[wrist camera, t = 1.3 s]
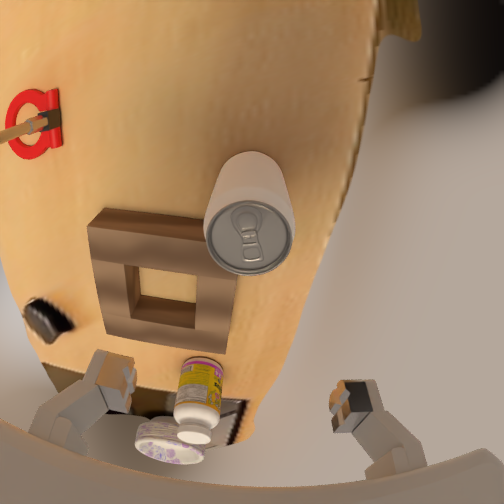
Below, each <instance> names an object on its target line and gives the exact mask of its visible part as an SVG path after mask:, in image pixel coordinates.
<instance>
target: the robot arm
mask: <svg viewBox="0 0 504 504" xmlns="http://www.w3.org/2000/svg"><path fill="white" fill-rule="evenodd" d="M134 364H135V362H134V358H132V357H128V356H123V355H119V354H115V353H111V352H108V351H104V350H99V349H97V350H96V351H95V353H94V355H93V357H92V360H91V362H90V364H89V366H88V369H87V371H86V373H85V376H84V378H83V380H78V381H77V382H75V383H74V384H72V385H71V386H69V387H68V388H66V389H65V390H63V391H62V392H60V393H59V394H57V395H56V396H54V397H53V398H51V399H50V400H48V401H47V402H45V403H44V404H42V405H41V406H40V407H39V408H38V410H37V412H36V415H35V417H34V419H33V422H32V424H31V427H30V429H29V432H25V431H24V430H22V429H20V428H18V427H16V426H14V425H12V424H10V423H8V422H6V421H4V420H2V419H1V418H0V504H504V465H503V463H502V462H501V461H500V460H499V459H498V458H497V457H496V456H495V455H493V454H492V453H491V452H490V451H488V450H487V449H484V448H481V449H478V450H475V451H472V452H470V453H467V454H464V455H462V456H459V457H456V458H453V459H450V460H447V461H444V462H440V463H437V464H434V465H430V466H427V462H426V459H425V455H424V452H423V448H422V445H421V442H420V441H419V440H418V439H417V438H416V437H415V436H414V435H413V434H411V433H410V432H409V431H408V430H407V429H406V428H405V427H404V426H403V425H402V424H401V423H400V422H399V421H398V420H397V419H396V418H395V417H394V416H393V415H391V414H390V413H389V412H388V411H385V410H384V407H383V404H382V400H381V397H380V394H379V391H378V388H377V384H376V381H375V380H373V379H372V380H371V379H369V380H362V379H358V380H340V381H339V382H338V383H337V389H335V390H333V391H332V393H331V395H330V399H329V409H330V412H331V413H332V414H333V415H334V416H333V418H332V420H331V421H332V426H333V433H349V432H352V435H353V436H354V437H355V438H356V440H357V441H358V442H359V444H360V445H361V446H362V447H363V449H364V450H365V451H366V452H367V454H368V455H369V456H370V458H371V459H372V460H373V461H374V464H372V465H371V466H370V467H368V468H367V469H366V470H365V475H366V480H361V481H355V482H348V483H339V484H329V485H318V486H301V487H247V486H231V485H219V484H209V483H201V482H193V481H185V480H180V479H173V478H168V477H162V476H158V475H152V474H148V473H144V472H139V471H134V470H131V469H127V468H123V467H119V466H116V465H112V464H109V463H105V462H102V461H99V460H96V459H93V458H89V457H87V453H88V449H89V446H88V444H87V443H86V442H85V440H84V439H83V438H82V436H81V434H82V433H83V432H85V431H86V430H87V429H88V428H89V427H90V426H91V425H93V424H94V423H95V422H96V421H97V420H98V419H99V418H100V417H101V416H103V415H104V414H105V413H106V412H107V411H108V409H111V410H115V411H119V412H123V413H128V411H129V408H130V404H131V401H132V399H131V396H130V394H131V393H132V392H134V391H135V387H136V382H137V372H136V369H135V368H134Z"/></svg>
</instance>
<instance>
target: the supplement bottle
mask: <svg viewBox="0 0 504 504" xmlns="http://www.w3.org/2000/svg"><path fill="white" fill-rule="evenodd" d="M222 382H223V370H222V368H221V366H220V365H219V364H218V363H217V362H215V361H213V360H211V359H207V358H191V359H189V360H187V361H186V362H185V363H184V364H183V366H182V370H181V375H180V380H179V386H178V391H177V397H176V402H175V407H174V418H175V420H176V421H177V422H178V423H179V424H180V425H179V427H178V431H177V437H178V438H179V439H180V440H182V441H185V442H188V443H192V444H206V443H209V442H210V441H211V431H210V429H212V428H214V427H215V426H216V425H217V424H218V422H219V418H220V406H221V394H222Z"/></svg>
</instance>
